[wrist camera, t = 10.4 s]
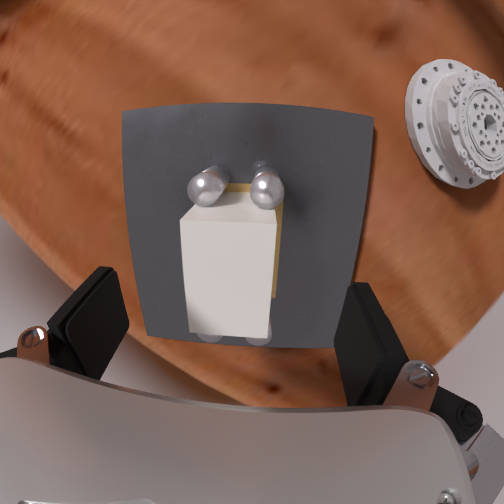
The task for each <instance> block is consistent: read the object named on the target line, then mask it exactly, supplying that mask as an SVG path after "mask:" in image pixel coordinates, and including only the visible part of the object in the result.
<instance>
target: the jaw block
mask: <svg viewBox="0 0 504 504" xmlns="http://www.w3.org/2000/svg"><path fill="white" fill-rule="evenodd" d="M276 229H277V222H276V214H275V207H274V208H272V209H262V208H260V207H258V206H256V205H255V204H254V203H253V201H252V200H251V197H250V193H248V192H222V194H221V195H220V197H219V198H218V199H217V201H216V202H215V203H214V204H212V205H210V206H206V207H202V206H198V205H196V204H195V205H194V206H193V207H192V208H191V209H190V210H189V211H188V212H187V213H186V214H185V215H184V216H183V217H182V218H181V219H180V233H181V249H182V263H183V275H184V286H185V296H186V306H187V315H188V324H189V332H192V333H201V334H212V335H224V336H237V337H253V338H267V334H268V324H269V313H270V302H271V291H272V280H273V268H274V255H275V242H276Z"/></svg>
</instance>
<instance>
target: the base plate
mask: <svg viewBox="0 0 504 504" xmlns="http://www.w3.org/2000/svg"><path fill="white" fill-rule="evenodd" d="M373 124H374V117H371V116H366V115H361V114H355V113H349V112H343V111H337V110H330V109H322V108H314V107H305V106H294V105H281V104H263V103H200V104H183V105H170V106H160V107H151V108H142V109H135V110H128V111H122V156H123V178H124V193H125V205H126V215H127V224H128V232H129V240H130V247H131V254H132V261H133V267H134V273H135V279H136V284H137V290H138V295H139V300H140V305H141V309H142V314H143V318H144V323H145V327H146V331H147V335H148V336H154V337H161V338H168V339H176V340H184V341H193V342H202V343H213V344H224V345H238V346H254V347H278V348H334V337H335V333H336V330H337V326H338V323H339V319H340V315H341V312H342V308H343V304H344V300H345V296H346V292H347V288H348V286H350V283H351V279H352V274H353V270H354V265H355V260H356V255H357V250H358V245H359V239H360V234H361V228H362V222H363V216H364V210H365V203H366V196H367V188H368V180H369V171H370V162H371V151H372V139H373ZM222 192H248V193H250V197H251V200H252V201H253V203H254V204H255V205H256V206H258V207H260V208H262V209H272V208H274V207H275V214H276V222H277V229H276V242H275V255H274V268H273V280H272V291H271V302H270V313H269V324H268V334H267V338H253V337H237V336H224V335H212V334H201V333H192V332H189V324H188V315H187V306H186V296H185V286H184V275H183V263H182V249H181V233H180V219H181V218H182V217H183V216H184V215H185V214H186V213H187V212H188V211H189V210H190V209H191V208H192V207H193V206H194V205H195V204H196V205H198V206H202V207H206V206H210V205H212V204H214V203H215V202H216V201H217V199H218V198H219V197H220V195H221V194H222Z"/></svg>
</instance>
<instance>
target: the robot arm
mask: <svg viewBox="0 0 504 504" xmlns="http://www.w3.org/2000/svg"><path fill="white" fill-rule="evenodd" d="M47 325H48V327H49V330H48V331H46V329H45V328H43V327H41V326H35V327H31V328H28V329H27V330H25V331H24V332H23V333H22V334H21V335H20V337H19V339H18V344H17V347H16V348H13V349H10V350H8V351H5V352H2V353H0V504H492V503H493V502H494V500H495V499H496V497H497V496H498V494H499V493H500V491H501V489H502V488H503V486H504V439H503V438H502V437H501V436H500V435H499V434H498V433H497V432H496V431H494V429H492V428H491V427H490V426H489V425H488V424H486V425H485V426H484V425H483V424H482V423H483V418H482V414H481V411H480V410H479V408H478V407H477V406H476V405H474V404H473V403H471V402H469V401H467V400H465V399H463V398H461V397H459V396H457V395H455V394H454V393H452V392H450V391H448V390H446V389H444V388H442V387H440V386H438V383H439V377H438V373H437V372H436V370H435V369H434V368H433V367H432V366H431V365H430V364H428V363H427V362H424V361H421V360H412V361H409V359H408V357H407V355H406V353H405V351H404V349H403V346H402V344H401V342H400V340H399V338H398V336H397V334H396V332H395V330H394V328H393V326H392V324H391V322H390V320H389V318H388V317H387V316H386V315H385V313H384V311H383V309H382V307H381V305H380V304H379V302H378V300H377V298H376V296H375V294H374V292H373V291H372V289H371V287H370V285H369V284H368V283H362V282H354V283H353V284H352V286H348V288H347V292H346V296H345V300H344V304H343V308H342V312H341V315H340V319H339V323H338V326H337V330H336V333H335V337H334V347H335V351H336V355H337V360H338V364H339V368H340V373H341V377H342V381H343V386H344V391H345V395H346V400H347V405H348V407H328V408H269V407H250V406H236V405H225V404H216V403H207V402H200V401H192V400H186V399H180V398H174V397H168V396H162V395H157V394H152V393H148V392H143V391H139V390H134V389H130V388H126V387H122V386H118V385H114V384H110V383H107V382H103V381H100V379H101V377H102V375H103V373H104V371H105V369H106V368H107V366H108V364H109V362H110V360H111V359H112V357H113V355H114V353H115V351H116V350H117V348H118V346H119V344H120V343H121V341H122V339H123V337H124V336H125V334H126V332H127V330H128V328H129V319H128V316H127V312H126V308H125V304H124V300H123V297H122V292H121V288H120V284H119V280H118V275H117V272H116V271H114V269H113V268H112V267H103V266H100V267H98V268H97V269H96V270H95V271H94V272H93V273H92V274H91V275H90V276H89V277H88V278H87V279H86V280H85V281H84V282H83V283H82V284H81V285H80V287H79V288H78V289H77V290H76V291H75V292H74V293H73V294H72V295H71V296H70V297H69V298H68V300H67V301H66V302H65V303H64V304H63V305H62V306H61V307H60V308H59V309H58V311H57V312H56V313H55V314H54V315H53V316H52V317H51V318H50V320H49V321H48V322H47Z"/></svg>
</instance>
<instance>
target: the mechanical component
mask: <svg viewBox="0 0 504 504" xmlns="http://www.w3.org/2000/svg"><path fill="white" fill-rule="evenodd" d="M405 119H406V123H407V128H408V133H409V137H410V140H411V142H412V145H413V148H414V150H415V152H416V153H417V155H418V157H419V158H420V160H421V162H422V164H423V165H424V166H425V167H426V168H427V169H428V170H429V171H430V172H431V173H432V174H433V175H434V176H435V177H436V178H438V179H440V180H441V181H443V182H445V183H447V184H449V185H452V186H455V187H460V188H465V189H468V188H472V187H476V186H478V185H479V184H481V183H483V182H485V181H486V180H487V179H494V180H495V179H496V177H498V176H499V175H500V174H502V173H503V172H504V91H503V90H502V88H498V87H497V84H496V81H495V80H493V79H490V78H488V77H487V76H486V75H484V74H482V73H480V72H478V71H473V70H472V69H471V68H469V67H468V66H466V65H464V64H462V63H460V62H458V61H454V60H450V59H439V60H436V61H433V62H430V63H428V64H425V65H422V66H421V68H420V69H419V70H418V71H417V72H416V73H415V74H414V75H413V76H412V79H411V81H410V83H409V85H408V88H407V93H406V98H405Z"/></svg>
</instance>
